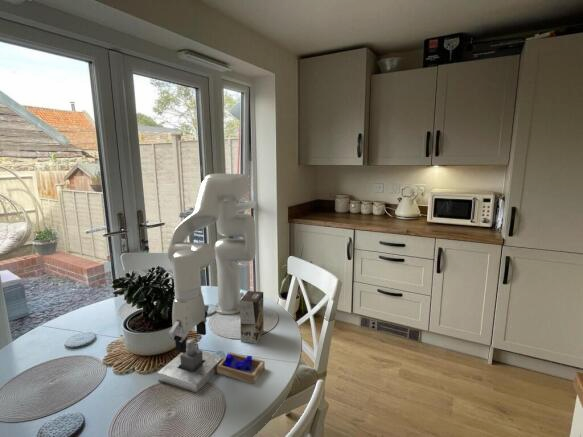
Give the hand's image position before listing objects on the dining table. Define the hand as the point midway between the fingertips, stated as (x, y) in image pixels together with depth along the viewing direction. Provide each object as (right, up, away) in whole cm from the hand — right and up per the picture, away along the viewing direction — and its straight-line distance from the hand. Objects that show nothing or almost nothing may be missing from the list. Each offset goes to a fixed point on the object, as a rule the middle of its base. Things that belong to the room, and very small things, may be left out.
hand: (191, 342), depth 99 cm
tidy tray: (+15, -10, +2) cm, 18 cm away
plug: (0, -9, +1) cm, 9 cm away
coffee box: (+16, -6, +21) cm, 27 cm away
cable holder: (+14, -10, +2) cm, 17 cm away
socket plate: (0, -9, +1) cm, 9 cm away
